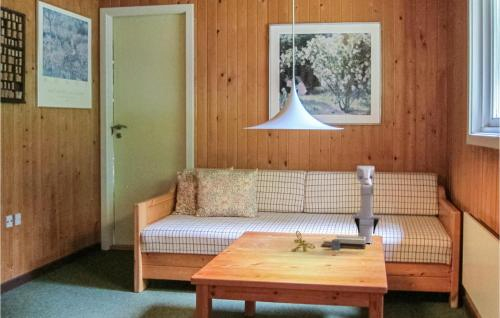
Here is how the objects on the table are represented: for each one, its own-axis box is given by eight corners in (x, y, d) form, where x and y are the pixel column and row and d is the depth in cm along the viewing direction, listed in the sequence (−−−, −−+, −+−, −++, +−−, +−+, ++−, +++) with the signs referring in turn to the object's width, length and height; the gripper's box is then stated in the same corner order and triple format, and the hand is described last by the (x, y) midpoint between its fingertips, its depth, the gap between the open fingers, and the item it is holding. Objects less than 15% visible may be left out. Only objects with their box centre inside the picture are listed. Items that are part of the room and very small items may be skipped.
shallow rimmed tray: (336, 241, 307) (336, 235, 307) (365, 243, 303) (365, 236, 303) (334, 244, 298) (334, 238, 298) (364, 246, 294) (364, 240, 294)
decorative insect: (303, 260, 289) (315, 246, 288) (302, 261, 285) (315, 247, 284) (284, 243, 290) (297, 229, 289) (284, 244, 286) (297, 230, 285)
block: (332, 248, 295) (332, 239, 295) (339, 248, 294) (340, 239, 294) (331, 249, 291) (331, 240, 291) (339, 250, 290) (339, 240, 290)
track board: (324, 243, 310) (324, 240, 310) (365, 245, 304) (365, 243, 304) (321, 247, 298) (321, 244, 298) (364, 249, 293) (364, 247, 293)
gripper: (352, 207, 286) (351, 233, 287) (380, 209, 282) (380, 235, 283) (353, 206, 293) (352, 231, 293) (380, 207, 289) (380, 232, 290)
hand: (366, 233), depth 289 cm, fingers open, 7 cm apart
